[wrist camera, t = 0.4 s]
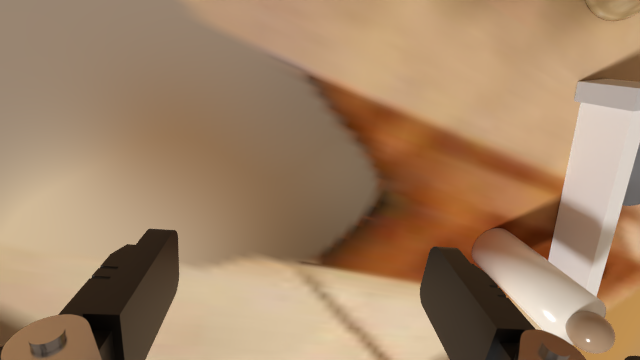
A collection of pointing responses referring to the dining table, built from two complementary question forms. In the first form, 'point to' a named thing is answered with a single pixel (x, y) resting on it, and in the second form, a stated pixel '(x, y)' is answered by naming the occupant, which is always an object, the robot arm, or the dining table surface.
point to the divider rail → (596, 178)
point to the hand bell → (614, 8)
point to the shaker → (544, 291)
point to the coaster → (633, 183)
